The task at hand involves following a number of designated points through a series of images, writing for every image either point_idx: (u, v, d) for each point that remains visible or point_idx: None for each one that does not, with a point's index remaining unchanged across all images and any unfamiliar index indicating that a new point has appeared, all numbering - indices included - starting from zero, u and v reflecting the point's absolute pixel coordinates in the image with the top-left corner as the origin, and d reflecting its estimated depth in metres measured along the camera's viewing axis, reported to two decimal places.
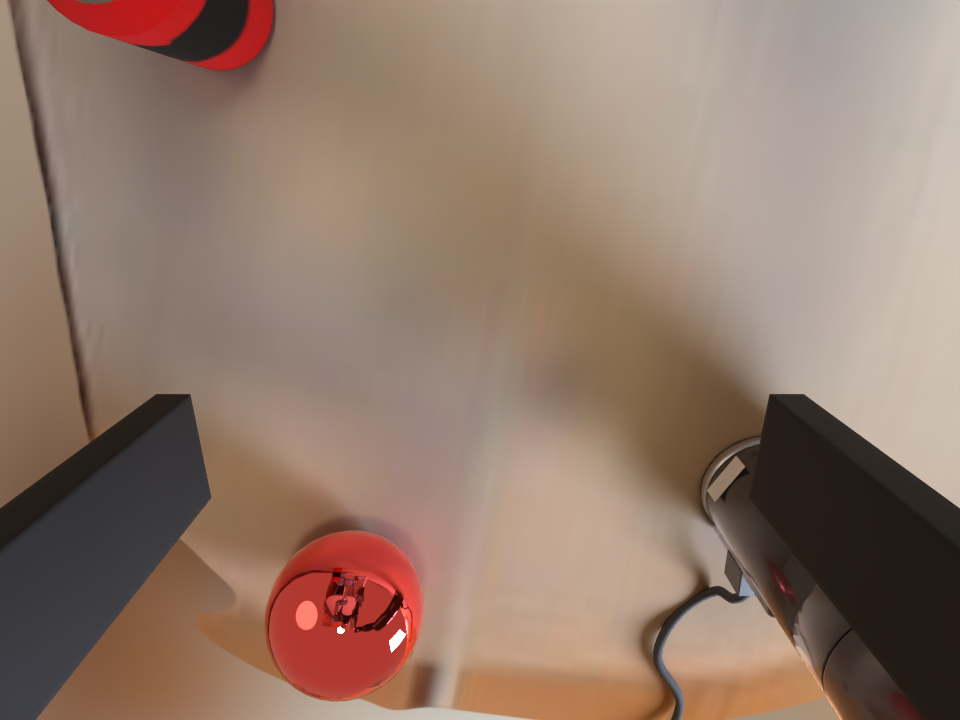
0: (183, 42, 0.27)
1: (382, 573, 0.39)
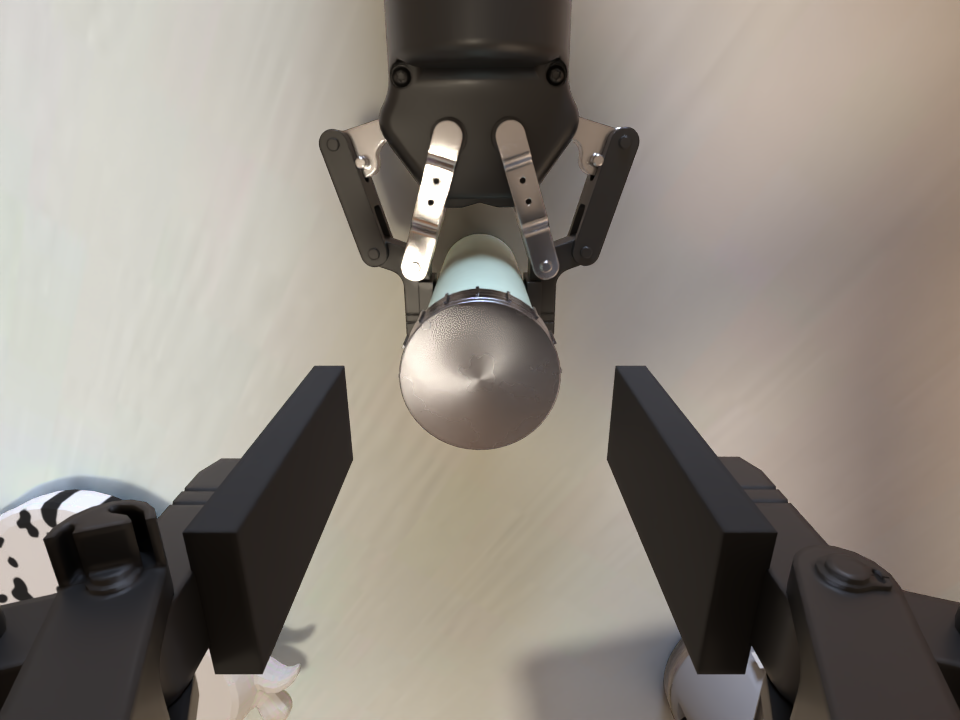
0: None
1: None
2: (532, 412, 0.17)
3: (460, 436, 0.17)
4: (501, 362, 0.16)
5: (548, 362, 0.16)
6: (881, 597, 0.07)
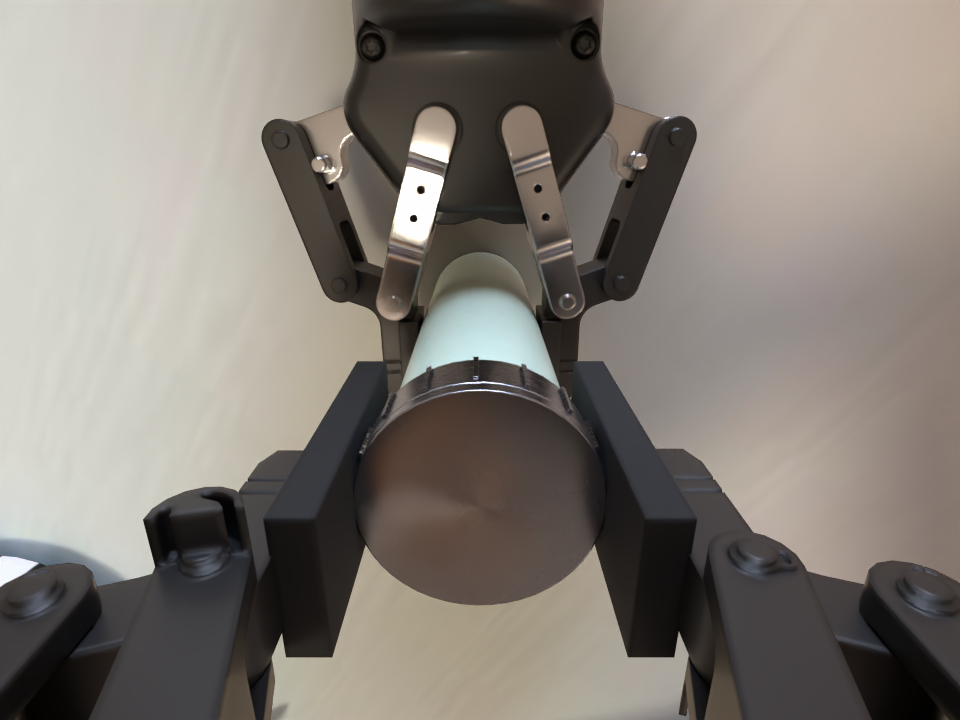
0: None
1: None
2: (561, 553, 0.11)
3: (450, 587, 0.11)
4: (514, 482, 0.10)
5: (588, 482, 0.10)
6: (787, 577, 0.07)
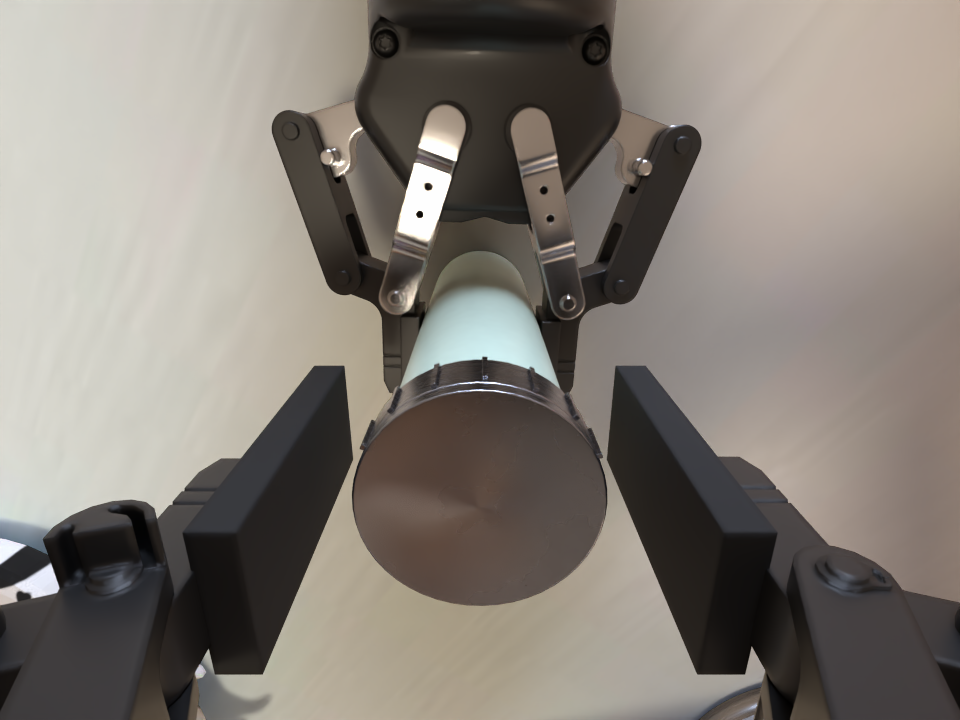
0: None
1: None
2: (547, 435, 0.10)
3: (576, 539, 0.11)
4: (453, 476, 0.10)
5: (457, 409, 0.10)
6: (881, 597, 0.07)
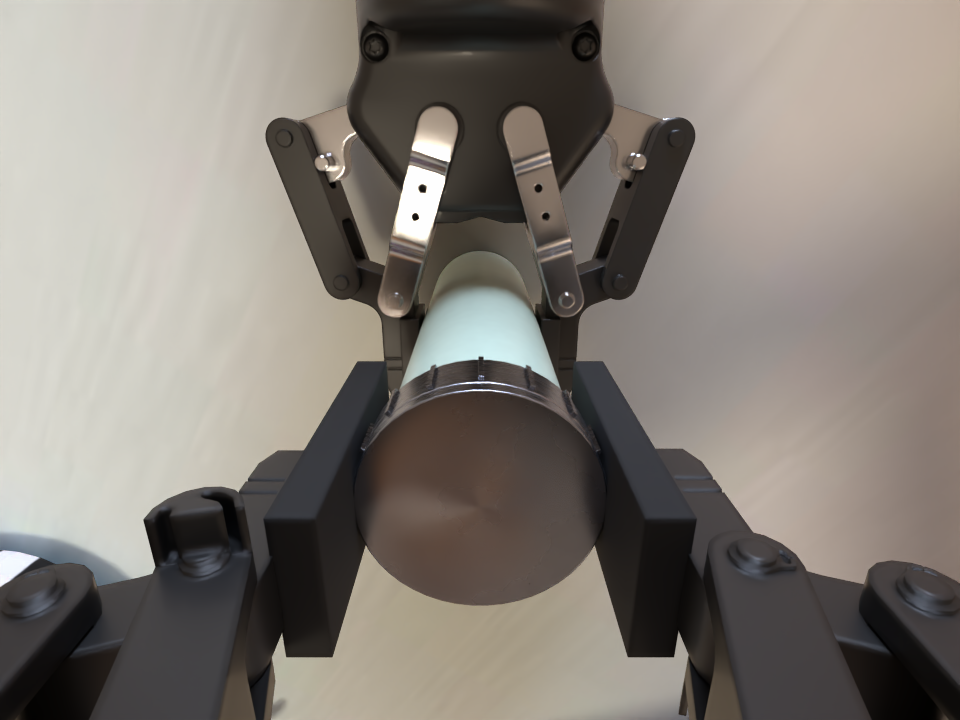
0: None
1: None
2: (545, 433, 0.10)
3: (578, 536, 0.11)
4: (452, 476, 0.10)
5: (454, 409, 0.10)
6: (787, 577, 0.07)
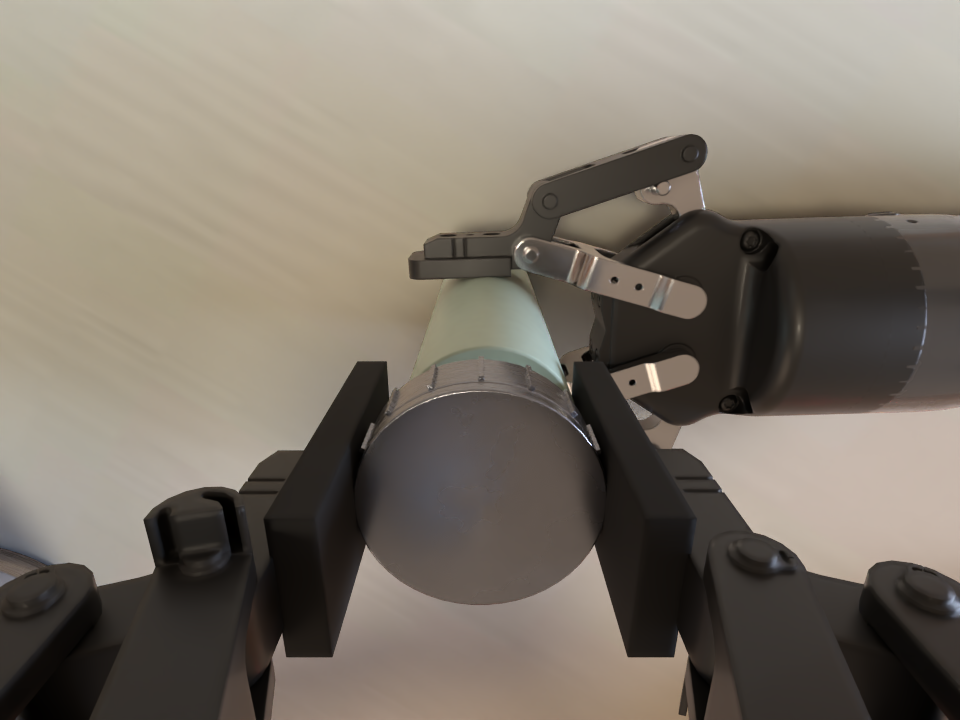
0: None
1: None
2: (545, 432, 0.10)
3: (578, 535, 0.11)
4: (452, 476, 0.10)
5: (454, 409, 0.10)
6: (787, 577, 0.07)
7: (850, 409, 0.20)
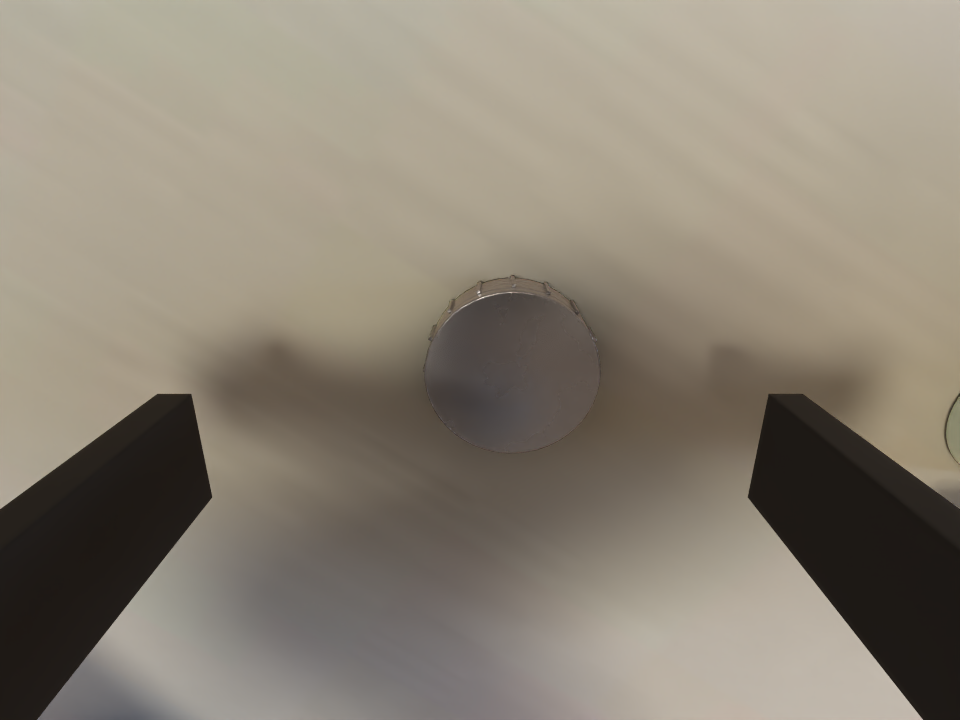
0: None
1: None
2: (557, 322, 0.15)
3: (580, 399, 0.15)
4: (493, 354, 0.15)
5: (495, 305, 0.14)
6: None
7: None
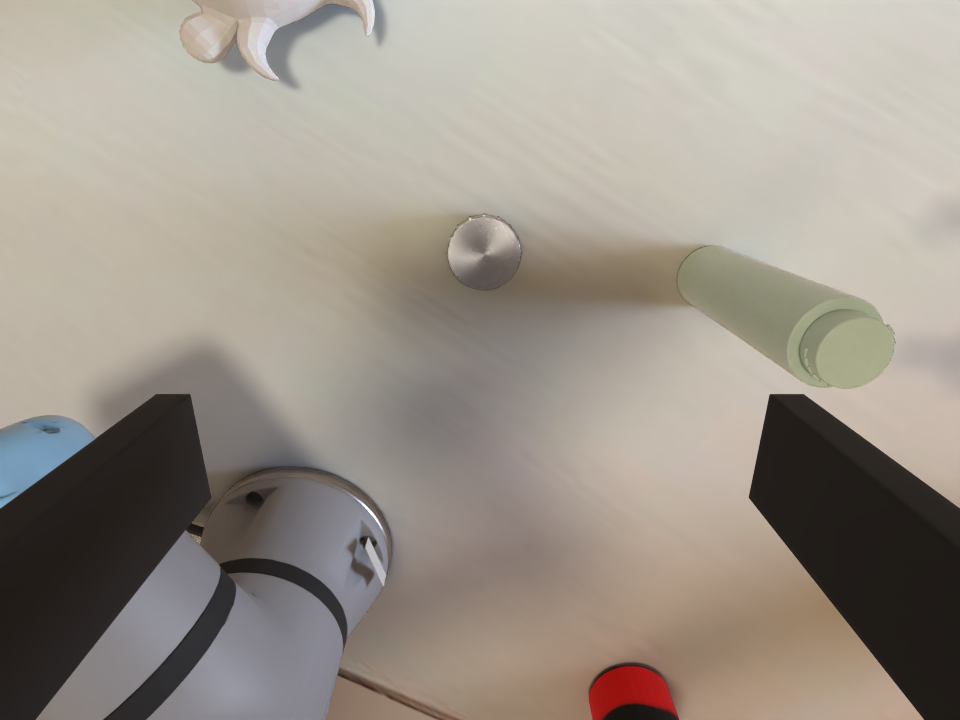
0: None
1: None
2: (501, 230, 0.36)
3: (512, 264, 0.37)
4: (476, 244, 0.36)
5: (476, 222, 0.36)
6: None
7: None
